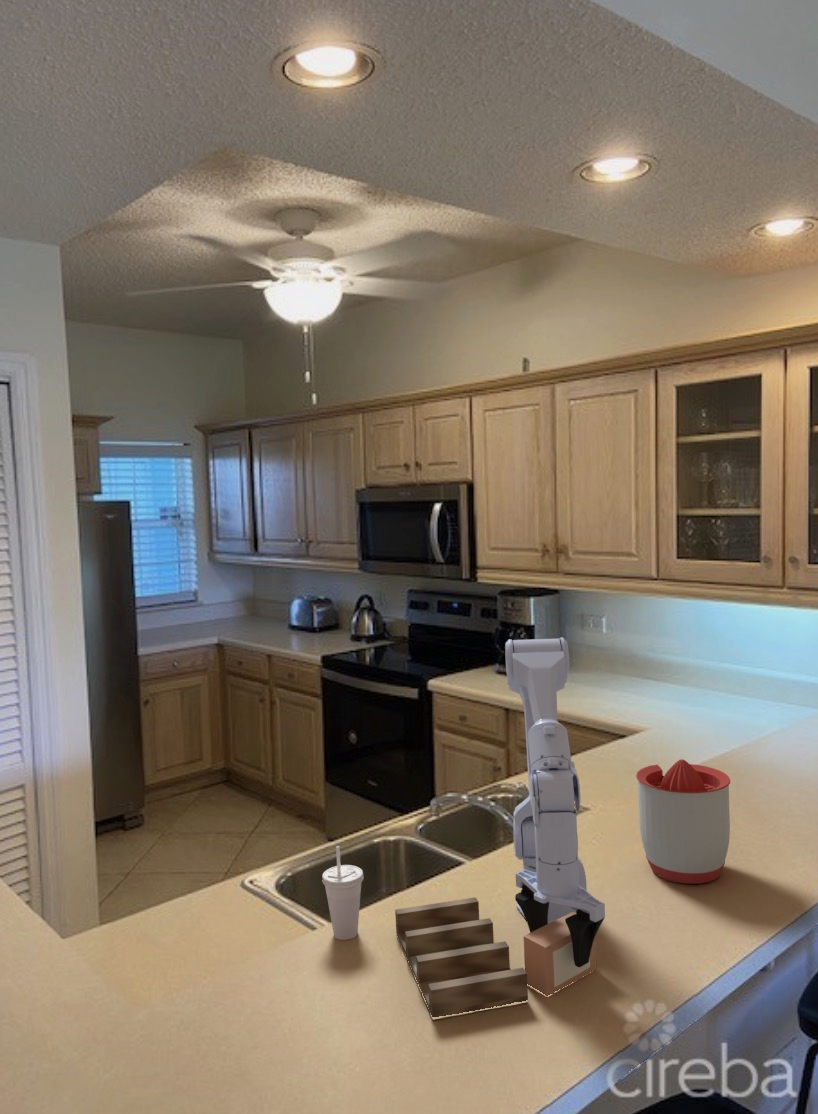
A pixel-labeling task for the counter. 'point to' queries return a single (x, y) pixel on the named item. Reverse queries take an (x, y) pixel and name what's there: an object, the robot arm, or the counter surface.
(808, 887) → the counter surface
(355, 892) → the smoothie
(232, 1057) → the counter surface
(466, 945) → the rack
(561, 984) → the pink rectangular block
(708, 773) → the citrus juicer
